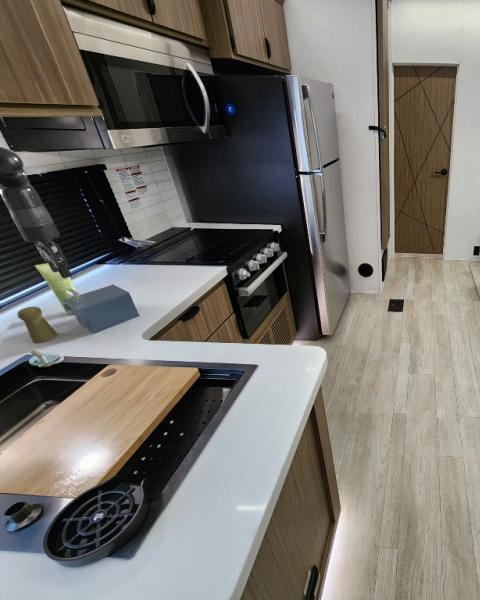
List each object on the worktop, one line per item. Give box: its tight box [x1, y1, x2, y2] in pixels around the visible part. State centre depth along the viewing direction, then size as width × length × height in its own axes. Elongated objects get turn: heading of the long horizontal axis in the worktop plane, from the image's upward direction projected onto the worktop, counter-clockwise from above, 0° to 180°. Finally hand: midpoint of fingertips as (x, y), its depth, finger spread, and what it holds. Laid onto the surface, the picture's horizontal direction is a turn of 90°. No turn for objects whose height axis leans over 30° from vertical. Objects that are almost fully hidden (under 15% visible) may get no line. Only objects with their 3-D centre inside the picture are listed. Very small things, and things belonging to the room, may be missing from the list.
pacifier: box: [28, 347, 65, 368], centre depth 95 cm, size 7×6×6 cm
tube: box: [34, 260, 76, 315], centre depth 119 cm, size 6×5×20 cm
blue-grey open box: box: [70, 293, 140, 335], centre depth 116 cm, size 14×13×9 cm
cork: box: [17, 306, 58, 344], centre depth 106 cm, size 6×6×11 cm
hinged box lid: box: [63, 284, 131, 312], centre depth 112 cm, size 14×13×5 cm
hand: (62, 274), depth 102 cm, fingers open, 8 cm apart
